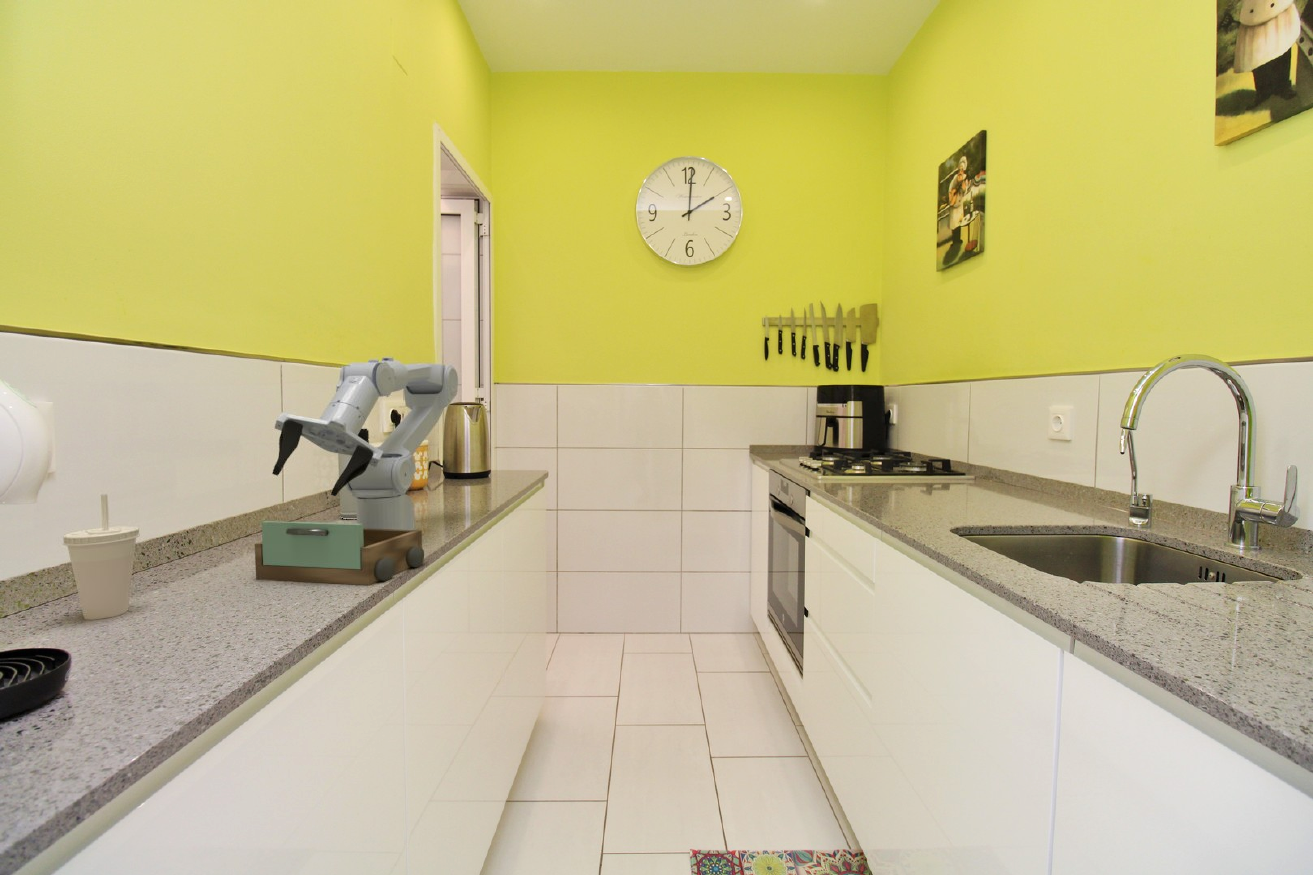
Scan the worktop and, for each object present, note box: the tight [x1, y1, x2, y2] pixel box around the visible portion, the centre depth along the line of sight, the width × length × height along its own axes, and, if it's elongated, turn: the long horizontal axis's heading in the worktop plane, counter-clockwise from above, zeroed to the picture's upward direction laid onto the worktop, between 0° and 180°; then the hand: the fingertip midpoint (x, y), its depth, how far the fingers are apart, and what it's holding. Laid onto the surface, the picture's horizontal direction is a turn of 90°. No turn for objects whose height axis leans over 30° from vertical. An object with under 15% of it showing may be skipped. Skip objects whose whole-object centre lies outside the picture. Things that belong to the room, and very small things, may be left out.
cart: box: [254, 529, 425, 586], centre depth 84 cm, size 12×20×5 cm, turn 79°
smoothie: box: [62, 493, 140, 621], centre depth 66 cm, size 6×6×14 cm
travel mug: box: [337, 428, 370, 518], centre depth 129 cm, size 6×7×20 cm
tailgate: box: [261, 520, 364, 569], centre depth 78 cm, size 2×15×6 cm, turn 79°
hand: (305, 481), depth 80 cm, fingers open, 7 cm apart
